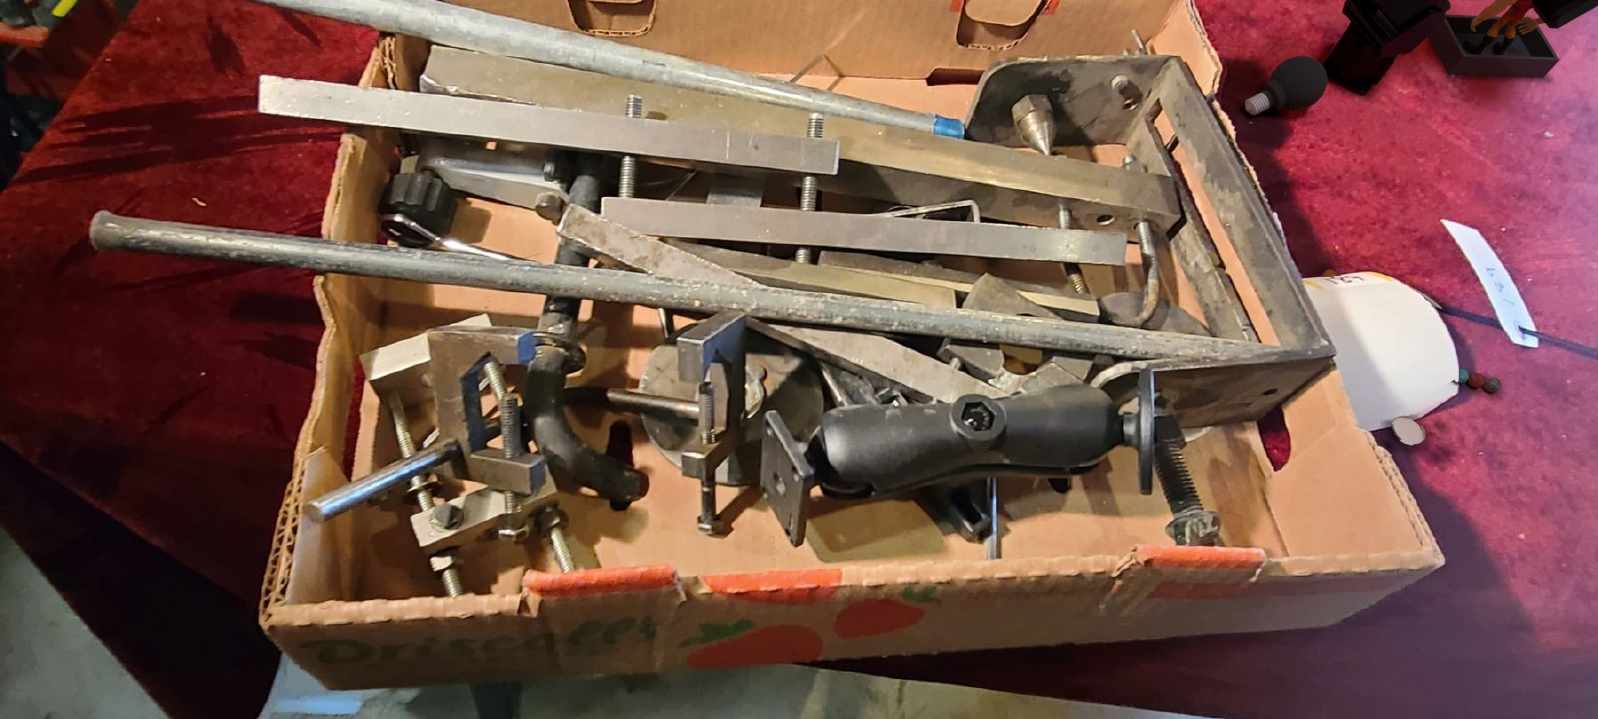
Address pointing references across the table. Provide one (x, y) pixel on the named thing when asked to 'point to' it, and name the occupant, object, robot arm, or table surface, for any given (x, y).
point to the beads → (1479, 381)
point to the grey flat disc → (1407, 431)
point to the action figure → (1515, 13)
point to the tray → (1492, 49)
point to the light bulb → (1291, 86)
